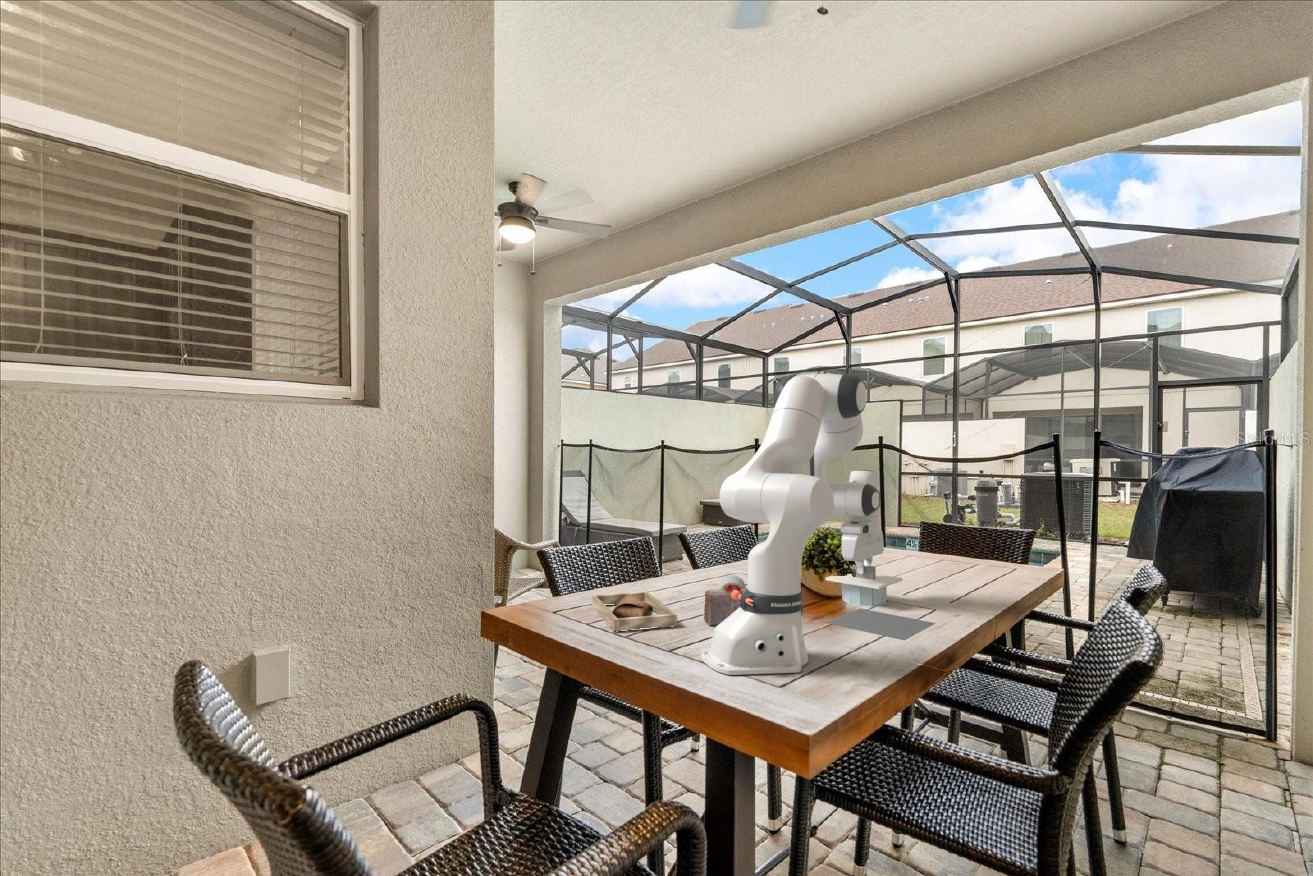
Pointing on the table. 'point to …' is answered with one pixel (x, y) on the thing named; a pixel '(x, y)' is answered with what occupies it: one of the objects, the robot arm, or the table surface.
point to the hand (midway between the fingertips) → (863, 572)
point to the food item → (720, 604)
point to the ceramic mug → (733, 582)
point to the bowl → (864, 595)
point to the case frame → (618, 624)
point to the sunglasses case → (631, 607)
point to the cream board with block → (866, 578)
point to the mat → (881, 623)
